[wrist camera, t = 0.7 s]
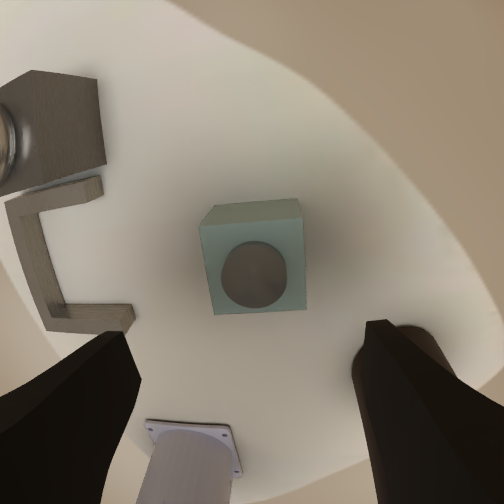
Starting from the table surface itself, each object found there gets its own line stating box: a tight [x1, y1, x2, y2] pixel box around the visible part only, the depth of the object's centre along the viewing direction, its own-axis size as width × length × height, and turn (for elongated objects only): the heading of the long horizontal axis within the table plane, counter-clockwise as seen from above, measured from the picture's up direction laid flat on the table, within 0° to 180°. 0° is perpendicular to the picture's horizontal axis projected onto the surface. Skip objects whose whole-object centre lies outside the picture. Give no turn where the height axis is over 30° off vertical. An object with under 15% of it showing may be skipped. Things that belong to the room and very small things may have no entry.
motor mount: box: [0, 70, 136, 336], centre depth 15 cm, size 16×8×7 cm, turn 6°
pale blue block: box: [199, 198, 307, 315], centre depth 16 cm, size 4×4×5 cm
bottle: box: [352, 327, 457, 504], centre depth 12 cm, size 7×7×20 cm
